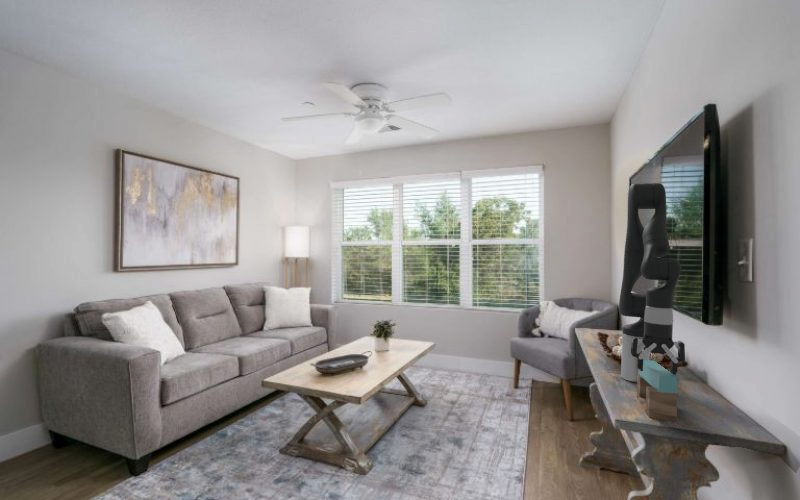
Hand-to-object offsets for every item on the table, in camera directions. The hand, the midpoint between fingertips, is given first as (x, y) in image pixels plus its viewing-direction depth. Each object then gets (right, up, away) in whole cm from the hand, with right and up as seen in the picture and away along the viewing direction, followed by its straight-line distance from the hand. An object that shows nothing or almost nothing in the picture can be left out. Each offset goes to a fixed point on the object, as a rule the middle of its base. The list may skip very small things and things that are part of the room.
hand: (656, 372), depth 124 cm
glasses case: (0, -3, 0) cm, 3 cm away
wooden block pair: (0, -11, 0) cm, 11 cm away
